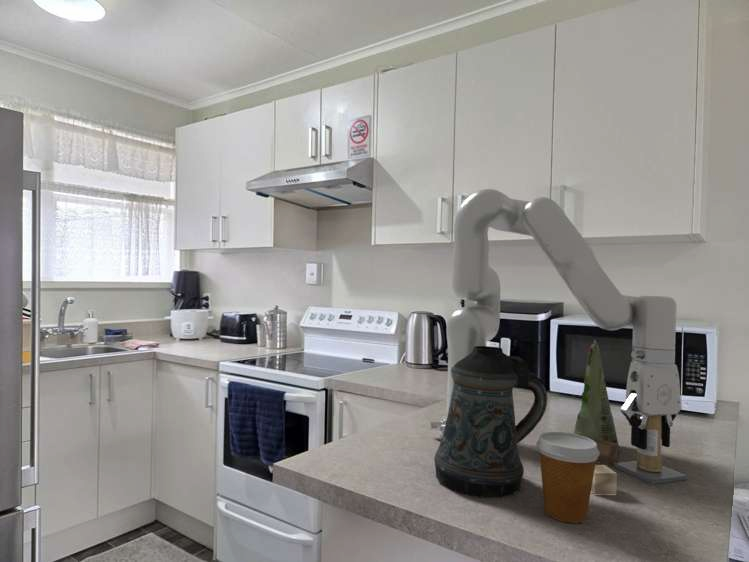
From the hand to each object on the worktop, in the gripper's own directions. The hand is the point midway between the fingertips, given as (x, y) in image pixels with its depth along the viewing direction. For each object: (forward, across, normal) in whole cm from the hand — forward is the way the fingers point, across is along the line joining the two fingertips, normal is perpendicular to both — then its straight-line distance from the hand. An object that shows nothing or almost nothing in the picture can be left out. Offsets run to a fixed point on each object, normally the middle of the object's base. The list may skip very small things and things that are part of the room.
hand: (650, 445), depth 97 cm
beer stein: (+6, -35, +6) cm, 36 cm away
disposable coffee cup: (+6, -30, -10) cm, 32 cm away
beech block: (+6, -17, -4) cm, 18 cm away
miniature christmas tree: (+6, +1, +16) cm, 17 cm away
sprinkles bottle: (+5, 0, 0) cm, 5 cm away
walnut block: (+6, -4, +8) cm, 11 cm away
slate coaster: (+6, 0, 0) cm, 6 cm away
